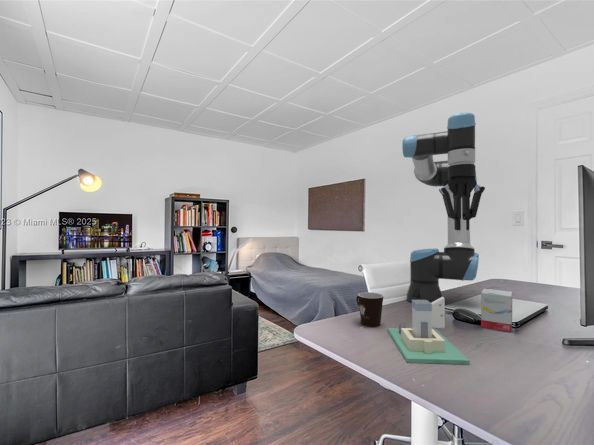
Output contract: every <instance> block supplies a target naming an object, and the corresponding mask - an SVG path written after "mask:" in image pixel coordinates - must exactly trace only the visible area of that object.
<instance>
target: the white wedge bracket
mask: <svg viewBox="0 0 594 445" xmlns="http://www.w3.org/2000/svg"><path fill="white" fill-rule="evenodd" d="M431 304H432V329H445V328H446V322H445V321H446V317H445V316H446V314H445V313H446V312H445V311H446V310H445V308H446V304H445V297H444V296H443V297H441V298H439V299H437V300H435V301H434V302H432V303H431Z"/></svg>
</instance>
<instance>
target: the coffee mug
mask: <svg viewBox="0 0 594 445" xmlns="http://www.w3.org/2000/svg"><path fill="white" fill-rule="evenodd" d="M383 302H384V295H383V294H381V293H378V292H366V291H365V292H360V293H357V295H356V303H357V306H358V308H359V314H360V323H361V325H362V326H364V327H367V328H378V327H380V326H381V321H382V312H383V311H382V310H383V304H384V303H383Z"/></svg>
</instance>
